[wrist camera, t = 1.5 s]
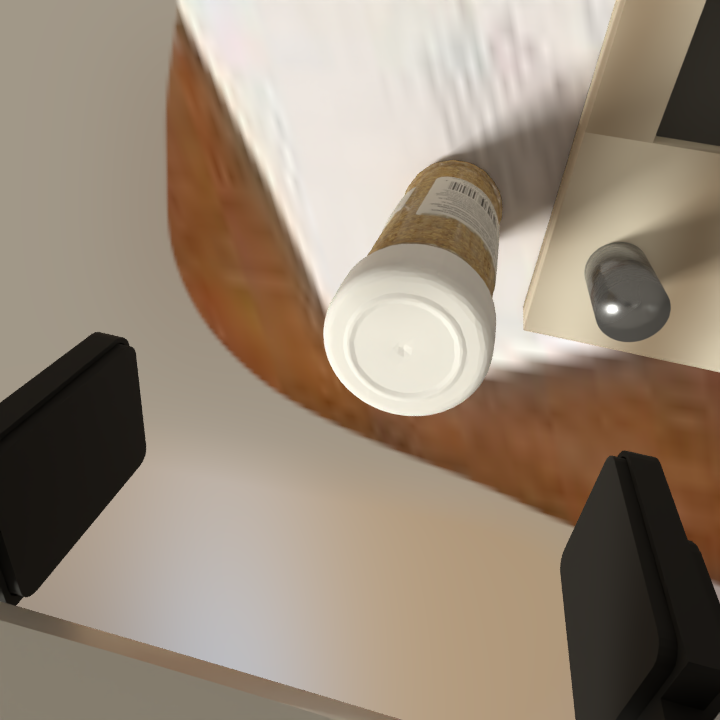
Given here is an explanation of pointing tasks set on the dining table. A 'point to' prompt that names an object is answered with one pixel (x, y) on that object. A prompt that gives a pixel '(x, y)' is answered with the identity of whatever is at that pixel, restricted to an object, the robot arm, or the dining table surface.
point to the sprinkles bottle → (422, 297)
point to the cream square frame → (641, 194)
